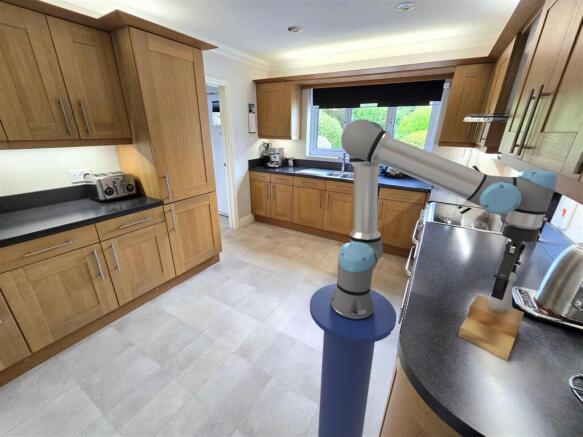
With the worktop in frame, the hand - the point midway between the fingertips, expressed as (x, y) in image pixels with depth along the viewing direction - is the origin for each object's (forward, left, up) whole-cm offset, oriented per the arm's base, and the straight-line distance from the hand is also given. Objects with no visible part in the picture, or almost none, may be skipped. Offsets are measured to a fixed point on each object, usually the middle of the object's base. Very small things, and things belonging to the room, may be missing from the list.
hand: (501, 289), depth 76 cm
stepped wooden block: (0, -4, -15) cm, 15 cm away
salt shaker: (0, 0, -7) cm, 7 cm away
